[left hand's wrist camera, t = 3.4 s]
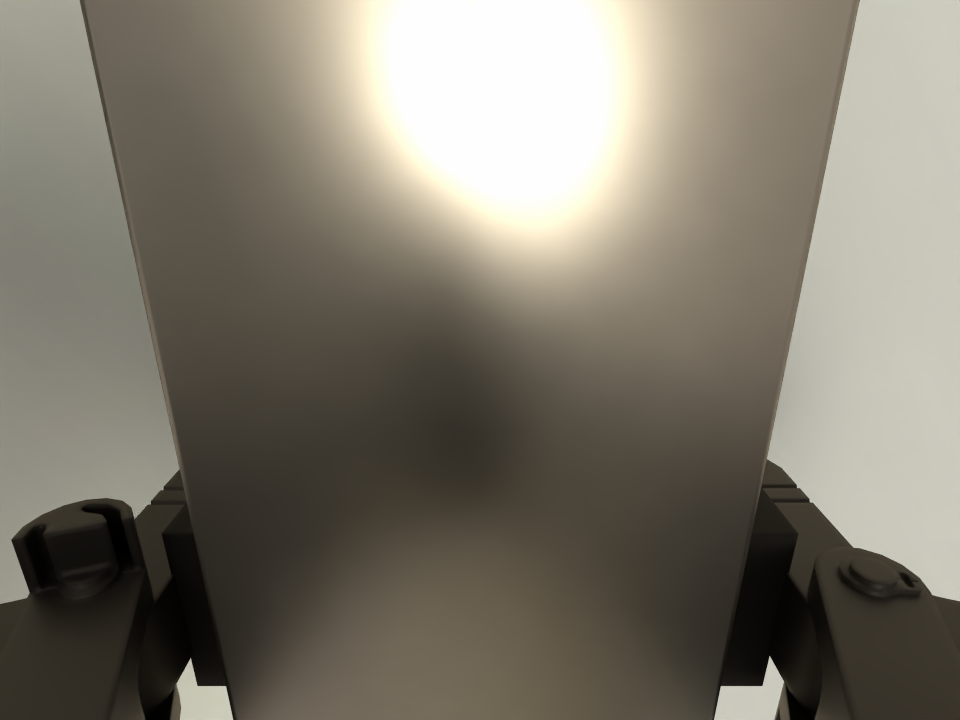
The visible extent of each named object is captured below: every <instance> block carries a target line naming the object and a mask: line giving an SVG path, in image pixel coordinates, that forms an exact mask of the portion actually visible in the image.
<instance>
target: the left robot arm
mask: <svg viewBox="0 0 960 720" xmlns="http://www.w3.org/2000/svg"><path fill="white" fill-rule="evenodd" d="M12 543H13V546H14V549H15V552H16V555H17V557H18V560H19V563H20V566H21V569H22V572H23V575H24V577H25V580H26V583H27V586H28V589H29V592H30V593H29V595H28V598H26V599H22V600H18V601H13V602H8V603H3V604H0V720H180V712H181V704H180V697H179V692H178V689H177V685H176V683H177V682H178V680H179V678H180V676H181V674H182V673H183V671H184V669H185V667H186V665H187V663H188V662H189V660H190V658H191V660H192V664H193V668H194V673H195V677H196V681H197V685H198V686H226V683H225V678H224V673H223V669H222V664H221V659H220V655H219V650H218V645H217V641H216V636H215V631H214V627H213V622H212V617H211V612H210V608H209V603H208V598H207V594H206V589H205V584H204V580H203V575H202V570H201V566H200V561H199V556H198V552H197V547H196V542H195V538H194V533H193V528H192V524H191V519H190V514H189V509H188V505H187V500H186V495H185V491H184V486H183V481H182V477H181V472H180V470H179V471H178V472H177V473H176V474H175V475H174V476H173V477H172V478H171V480H170V481H169V482H168V483H167V484H166V485H165V486H164V490H161V491H160V492H159V493H158V494H157V495H156V496H155V497H154V499H153V500H152V501H151V505H147V506H146V507H145V509H144V510H143V511H142V512H141V513H140V514H139V515H138V516H137V517H136V519H135V520H134V516H133V512H132V508H131V507H130V506H129V505H127V504H126V503H125V502H123V501H121V500H114V499H108V498H103V499H91V500H84V501H80V502H76V503H72V504H68V505H64V506H62V507H59V508H57V509H55V510H52V511H50V512H48V513H45V514H43V515H41V516H39V517H38V518H36V519H35V520H33V521H32V522H30V523H29V524H27V525H25V526H24V527H23V528H22V529H21V530H20V531H19V532H18V533H17V534H16V535H15V536H14V537H13V539H12ZM769 656H770V657H771V659H772V660H773V662H774V664H775V666H776V668H777V669H778V671H779V673H780V675H781V677H782V678H783V680H784V685H783V689H782V692H781V696H780V700H779V704H778V708H777V712H776V716H775V720H960V601H955V600H950V599H946V598H941V597H937V596H933V595H932V594H931V592H930V591H929V590H928V588H927V587H926V586H925V584H924V583H923V582H922V580H921V579H920V578H919V577H918V576H916V575H915V574H914V573H912V572H911V571H910V570H908V569H907V568H906V567H904V566H903V565H901V564H899V563H897V562H895V561H893V560H891V559H889V558H887V557H885V556H883V555H880V554H877V553H874V552H870V551H867V550H863V549H860V548H853V547H852V546H851V545H850V544H849V542H848V541H847V540H846V539H845V538H844V537H843V536H842V535H841V534H840V532H839V531H838V530H837V529H836V528H835V527H834V526H833V525H832V524H831V522H830V521H829V520H828V519H827V518H826V517H825V516H824V515H823V514H822V512H821V511H820V510H819V509H818V508H817V507H816V506H815V505H814V504H813V503H810V501H809V498H808V497H807V496H806V495H805V494H804V493H803V491H802V490H801V489H800V488H797V485H796V484H795V483H794V481H793V480H792V479H791V478H790V477H789V476H788V475H787V474H786V473H785V472H784V470H783V469H782V468H780V467H779V466H777V465H776V464H774V463H772V462H771V461H769V460H766V465H765V470H764V475H763V480H762V484H761V489H760V494H759V499H758V504H757V509H756V514H755V519H754V524H753V529H752V534H751V539H750V544H749V549H748V554H747V559H746V563H745V568H744V573H743V578H742V583H741V588H740V593H739V598H738V603H737V608H736V613H735V618H734V623H733V628H732V633H731V638H730V642H729V647H728V652H727V657H726V662H725V667H724V672H723V677H722V682H721V686H762V685H763V681H764V677H765V673H766V668H767V664H768V660H769Z"/></svg>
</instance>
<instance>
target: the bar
mask: <svg viewBox="0 0 960 720" xmlns="http://www.w3.org/2000/svg"><path fill="white" fill-rule="evenodd" d="M859 1H860V0H80V4H81V9H82V13H83V18H84V23H85V27H86V32H87V37H88V41H89V46H90V51H91V55H92V60H93V65H94V69H95V74H96V79H97V83H98V88H99V93H100V97H101V102H102V107H103V112H104V116H105V121H106V126H107V130H108V135H109V140H110V144H111V149H112V154H113V158H114V163H115V168H116V172H117V177H118V182H119V186H120V191H121V196H122V200H123V205H124V210H125V215H126V219H127V224H128V229H129V233H130V238H131V243H132V247H133V252H134V257H135V261H136V266H137V271H138V275H139V280H140V285H141V289H142V294H143V299H144V303H145V308H146V313H147V318H148V322H149V327H150V332H151V336H152V341H153V346H154V350H155V355H156V360H157V364H158V369H159V374H160V378H161V383H162V388H163V392H164V397H165V402H166V406H167V411H168V416H169V421H170V425H171V430H172V435H173V439H174V444H175V449H176V453H177V458H178V463H179V467H180V472H181V477H182V481H183V486H184V491H185V495H186V500H187V505H188V509H189V514H190V519H191V524H192V528H193V533H194V538H195V542H196V547H197V552H198V556H199V561H200V566H201V570H202V575H203V580H204V584H205V589H206V594H207V598H208V603H209V608H210V612H211V617H212V622H213V627H214V631H215V636H216V641H217V645H218V650H219V655H220V659H221V664H222V669H223V673H224V678H225V683H226V687H227V692H228V697H229V701H230V706H231V711H232V715H233V720H714V717H715V712H716V707H717V702H718V697H719V692H720V687H721V682H722V677H723V672H724V667H725V662H726V657H727V652H728V647H729V642H730V638H731V633H732V628H733V623H734V618H735V613H736V608H737V603H738V598H739V593H740V588H741V583H742V578H743V573H744V568H745V563H746V559H747V554H748V549H749V544H750V539H751V534H752V529H753V524H754V519H755V514H756V509H757V504H758V499H759V494H760V489H761V484H762V480H763V475H764V470H765V465H766V460H767V455H768V450H769V445H770V440H771V435H772V430H773V425H774V420H775V415H776V410H777V406H778V401H779V396H780V391H781V386H782V381H783V376H784V371H785V366H786V361H787V356H788V351H789V346H790V341H791V336H792V331H793V327H794V322H795V317H796V312H797V307H798V302H799V297H800V292H801V287H802V282H803V277H804V272H805V267H806V262H807V257H808V252H809V248H810V243H811V238H812V233H813V228H814V223H815V218H816V213H817V208H818V203H819V198H820V193H821V188H822V183H823V178H824V173H825V169H826V164H827V159H828V154H829V149H830V144H831V139H832V134H833V129H834V124H835V119H836V114H837V109H838V104H839V99H840V94H841V90H842V85H843V80H844V75H845V70H846V65H847V60H848V55H849V50H850V45H851V40H852V35H853V30H854V25H855V20H856V15H857V11H858V6H859Z"/></svg>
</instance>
